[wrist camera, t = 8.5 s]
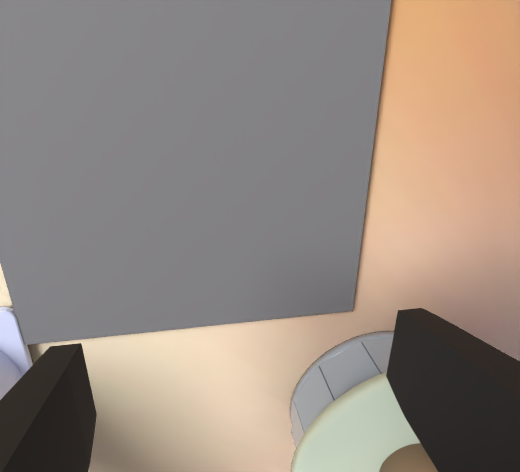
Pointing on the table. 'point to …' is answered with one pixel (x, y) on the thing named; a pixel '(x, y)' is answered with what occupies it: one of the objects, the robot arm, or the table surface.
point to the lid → (362, 435)
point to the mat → (184, 160)
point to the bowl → (337, 376)
